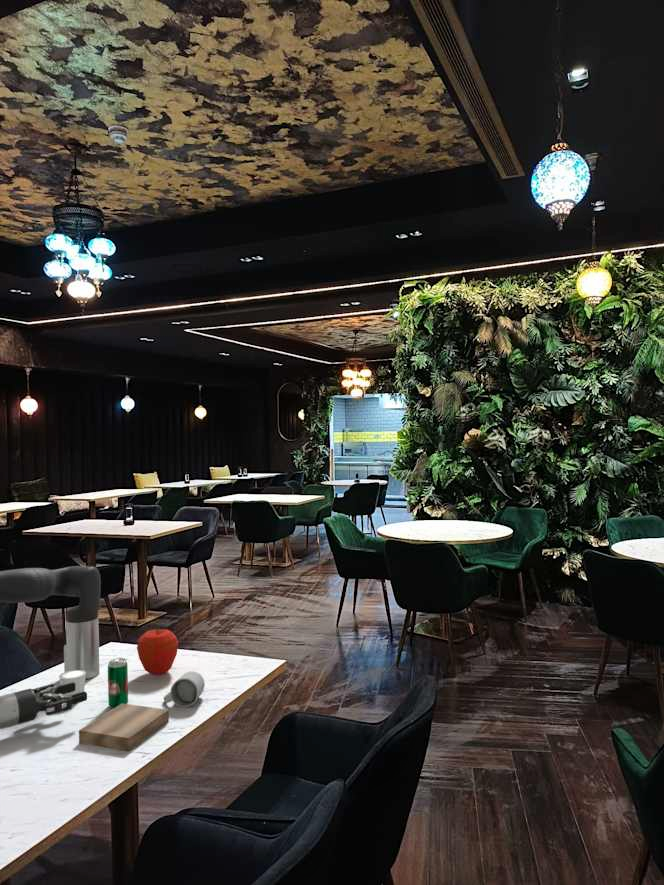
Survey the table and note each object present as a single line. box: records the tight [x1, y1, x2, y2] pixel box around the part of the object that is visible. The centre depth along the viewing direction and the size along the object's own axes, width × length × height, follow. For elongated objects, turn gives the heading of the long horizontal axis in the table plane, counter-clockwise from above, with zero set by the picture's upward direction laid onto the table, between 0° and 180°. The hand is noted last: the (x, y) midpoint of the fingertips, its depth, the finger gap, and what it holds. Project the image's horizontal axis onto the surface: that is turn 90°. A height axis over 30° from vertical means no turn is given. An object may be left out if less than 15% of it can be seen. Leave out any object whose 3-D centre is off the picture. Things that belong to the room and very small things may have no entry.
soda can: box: [107, 657, 129, 709], centre depth 170 cm, size 5×5×12 cm
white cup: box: [58, 670, 86, 700], centre depth 175 cm, size 7×7×7 cm
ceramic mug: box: [163, 671, 206, 708], centre depth 172 cm, size 11×8×8 cm
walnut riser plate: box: [78, 703, 170, 752], centre depth 154 cm, size 14×16×3 cm
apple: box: [136, 627, 179, 676], centre depth 193 cm, size 12×12×14 cm
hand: (80, 690), depth 164 cm, fingers open, 8 cm apart
